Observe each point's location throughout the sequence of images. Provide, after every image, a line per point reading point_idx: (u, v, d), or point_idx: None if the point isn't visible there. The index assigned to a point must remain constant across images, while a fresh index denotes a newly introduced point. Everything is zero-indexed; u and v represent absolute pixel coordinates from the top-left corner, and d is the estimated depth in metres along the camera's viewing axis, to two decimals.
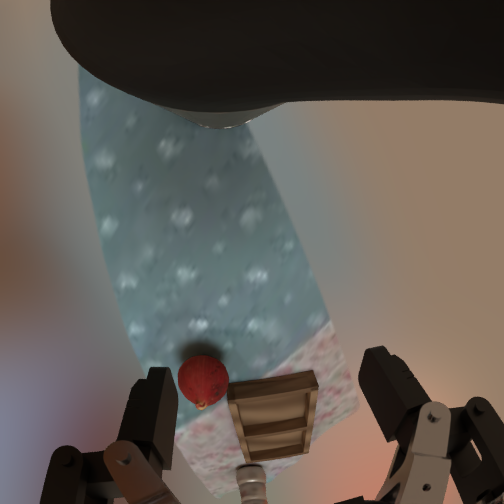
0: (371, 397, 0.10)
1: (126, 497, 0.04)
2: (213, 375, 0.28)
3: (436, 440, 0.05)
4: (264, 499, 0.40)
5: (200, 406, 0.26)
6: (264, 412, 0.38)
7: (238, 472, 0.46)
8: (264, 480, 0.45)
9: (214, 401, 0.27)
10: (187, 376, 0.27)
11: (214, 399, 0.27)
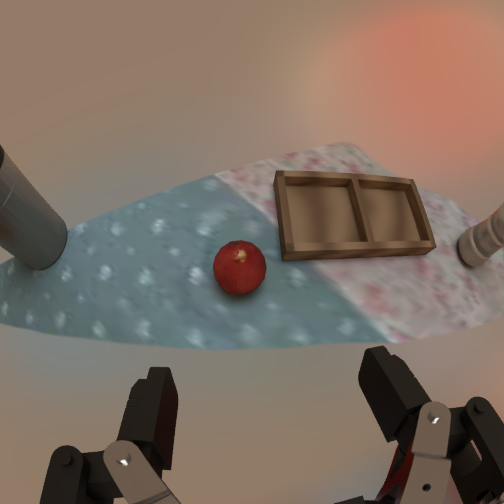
0: (371, 397, 0.10)
1: (126, 497, 0.04)
2: (220, 250, 0.30)
3: (436, 440, 0.05)
4: (491, 215, 0.30)
5: (237, 254, 0.27)
6: (333, 224, 0.37)
7: (469, 262, 0.35)
8: None
9: (244, 246, 0.29)
10: (218, 274, 0.29)
11: (240, 245, 0.29)
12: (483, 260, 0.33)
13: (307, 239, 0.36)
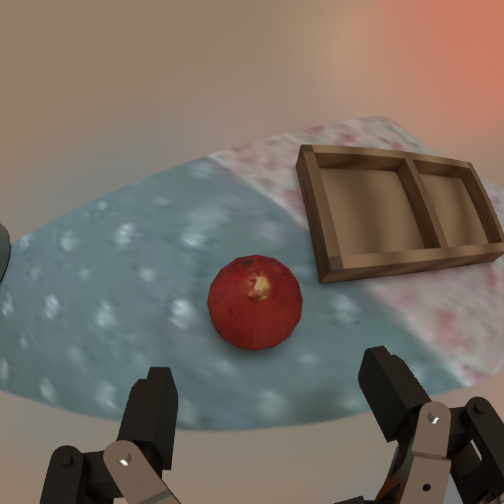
0: (371, 397, 0.10)
1: (125, 497, 0.04)
2: (219, 274, 0.17)
3: (436, 440, 0.05)
4: None
5: (252, 286, 0.13)
6: (388, 223, 0.23)
7: None
8: None
9: (264, 266, 0.15)
10: (217, 320, 0.15)
11: (255, 265, 0.15)
12: None
13: (355, 247, 0.22)
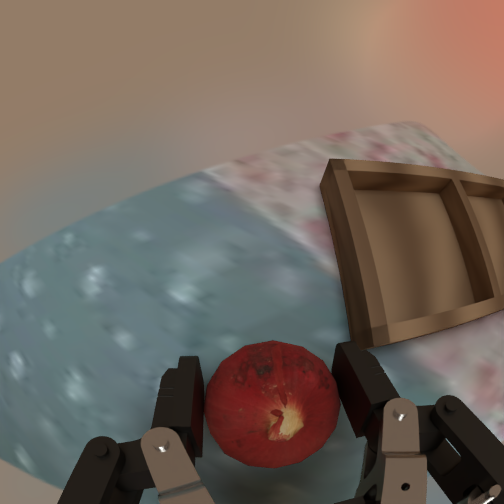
0: (342, 392, 0.10)
1: (156, 483, 0.05)
2: (219, 375, 0.10)
3: (406, 437, 0.06)
4: None
5: (276, 427, 0.07)
6: (435, 265, 0.17)
7: None
8: None
9: (292, 380, 0.09)
10: (219, 441, 0.09)
11: (279, 379, 0.09)
12: None
13: (398, 302, 0.16)
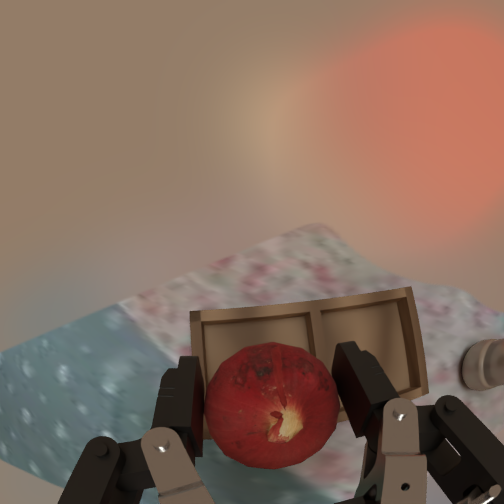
0: (342, 392, 0.10)
1: (156, 483, 0.05)
2: (219, 376, 0.10)
3: (406, 437, 0.06)
4: None
5: (276, 429, 0.07)
6: None
7: (472, 388, 0.23)
8: (486, 344, 0.23)
9: (292, 382, 0.09)
10: (218, 443, 0.09)
11: (279, 381, 0.09)
12: (490, 388, 0.21)
13: None
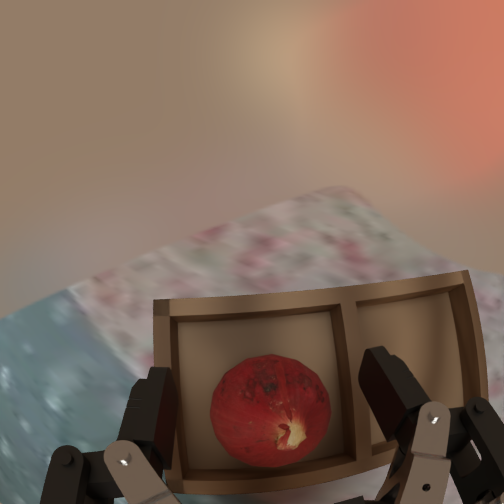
0: (371, 397, 0.10)
1: (126, 497, 0.04)
2: (227, 388, 0.11)
3: (435, 440, 0.05)
4: None
5: (284, 439, 0.08)
6: None
7: None
8: None
9: (295, 397, 0.10)
10: (226, 446, 0.10)
11: (284, 396, 0.10)
12: None
13: (224, 449, 0.14)
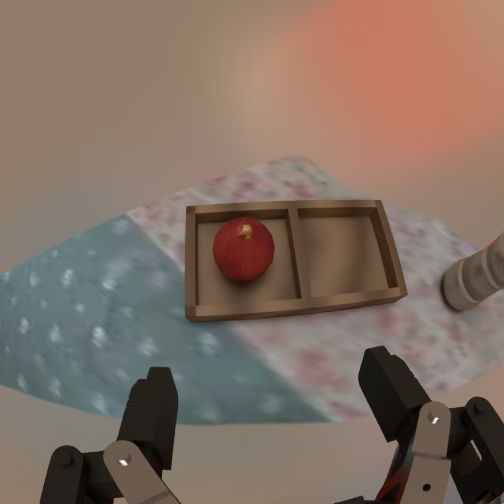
0: (371, 397, 0.10)
1: (125, 497, 0.04)
2: None
3: (436, 440, 0.05)
4: (488, 246, 0.22)
5: (241, 229, 0.23)
6: None
7: (456, 306, 0.27)
8: (463, 259, 0.27)
9: (249, 221, 0.24)
10: (219, 256, 0.25)
11: (244, 220, 0.24)
12: (475, 304, 0.25)
13: (222, 295, 0.28)
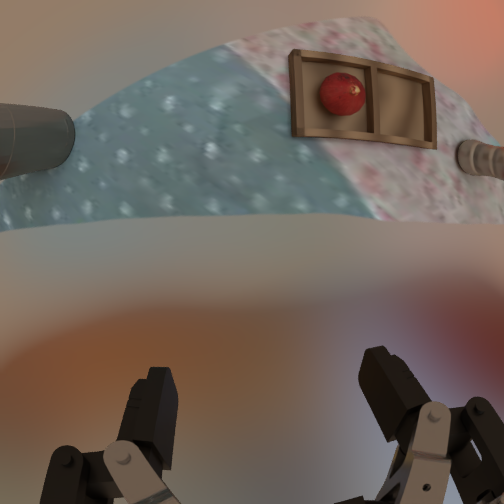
0: (371, 397, 0.10)
1: (126, 497, 0.04)
2: (330, 78, 0.28)
3: (436, 440, 0.05)
4: (497, 148, 0.28)
5: (354, 89, 0.26)
6: None
7: (463, 168, 0.37)
8: (477, 142, 0.33)
9: (355, 81, 0.26)
10: (330, 99, 0.29)
11: (352, 80, 0.26)
12: (476, 175, 0.35)
13: (317, 119, 0.34)
